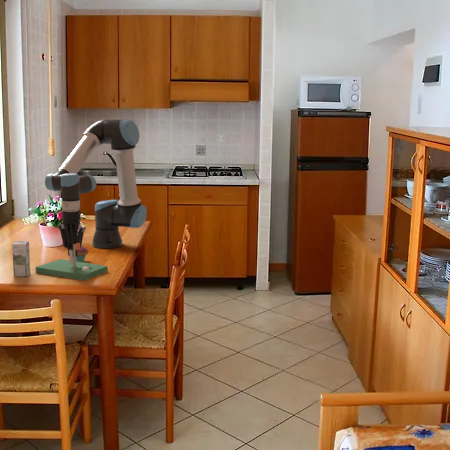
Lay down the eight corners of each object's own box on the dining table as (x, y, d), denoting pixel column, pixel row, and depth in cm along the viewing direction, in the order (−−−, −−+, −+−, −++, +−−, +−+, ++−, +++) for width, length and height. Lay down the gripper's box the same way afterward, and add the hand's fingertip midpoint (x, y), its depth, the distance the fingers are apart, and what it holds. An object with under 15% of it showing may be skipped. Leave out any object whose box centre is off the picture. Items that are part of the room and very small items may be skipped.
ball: (87, 263, 271) (92, 269, 270) (83, 269, 272) (88, 275, 272) (82, 266, 268) (87, 272, 267) (78, 271, 269) (83, 277, 269)
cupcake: (80, 258, 297) (79, 233, 295) (92, 261, 292) (91, 235, 290) (65, 261, 291) (64, 236, 288) (77, 264, 285) (76, 238, 283)
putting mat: (60, 264, 286) (59, 232, 283) (107, 271, 275) (106, 239, 272) (35, 272, 272) (34, 239, 269) (84, 280, 261) (83, 246, 258)
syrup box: (30, 273, 270) (29, 240, 267) (27, 277, 264) (25, 243, 262) (17, 273, 270) (15, 240, 267) (13, 277, 264) (11, 243, 261)
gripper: (53, 210, 267) (55, 264, 272) (78, 212, 262) (79, 267, 267) (64, 207, 274) (66, 260, 279) (89, 210, 268) (90, 263, 273)
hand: (73, 263), depth 272 cm, fingers closed
